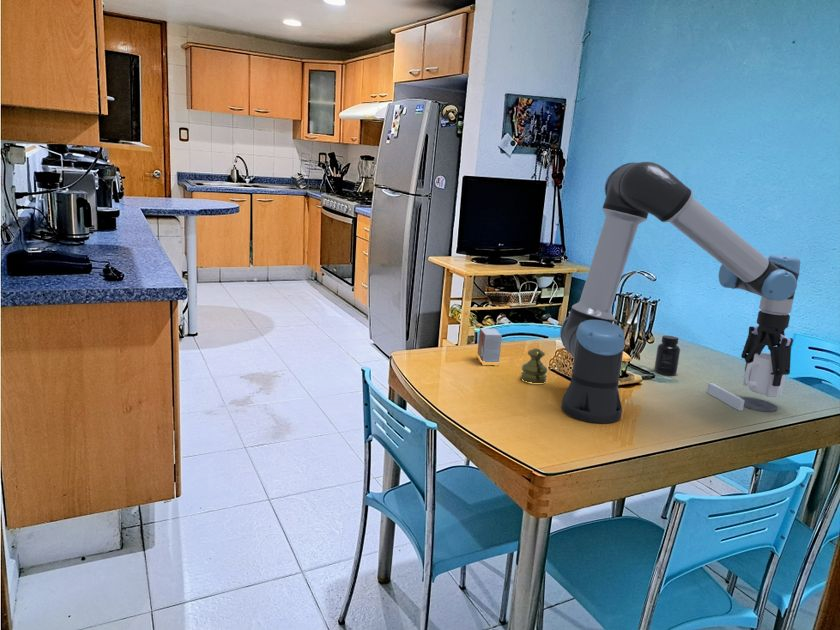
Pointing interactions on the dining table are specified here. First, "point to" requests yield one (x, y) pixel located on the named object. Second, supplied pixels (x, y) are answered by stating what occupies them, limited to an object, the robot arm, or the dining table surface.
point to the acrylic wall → (725, 396)
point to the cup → (761, 374)
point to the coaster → (758, 404)
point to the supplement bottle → (667, 356)
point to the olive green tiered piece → (534, 368)
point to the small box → (489, 345)
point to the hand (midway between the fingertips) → (759, 390)
